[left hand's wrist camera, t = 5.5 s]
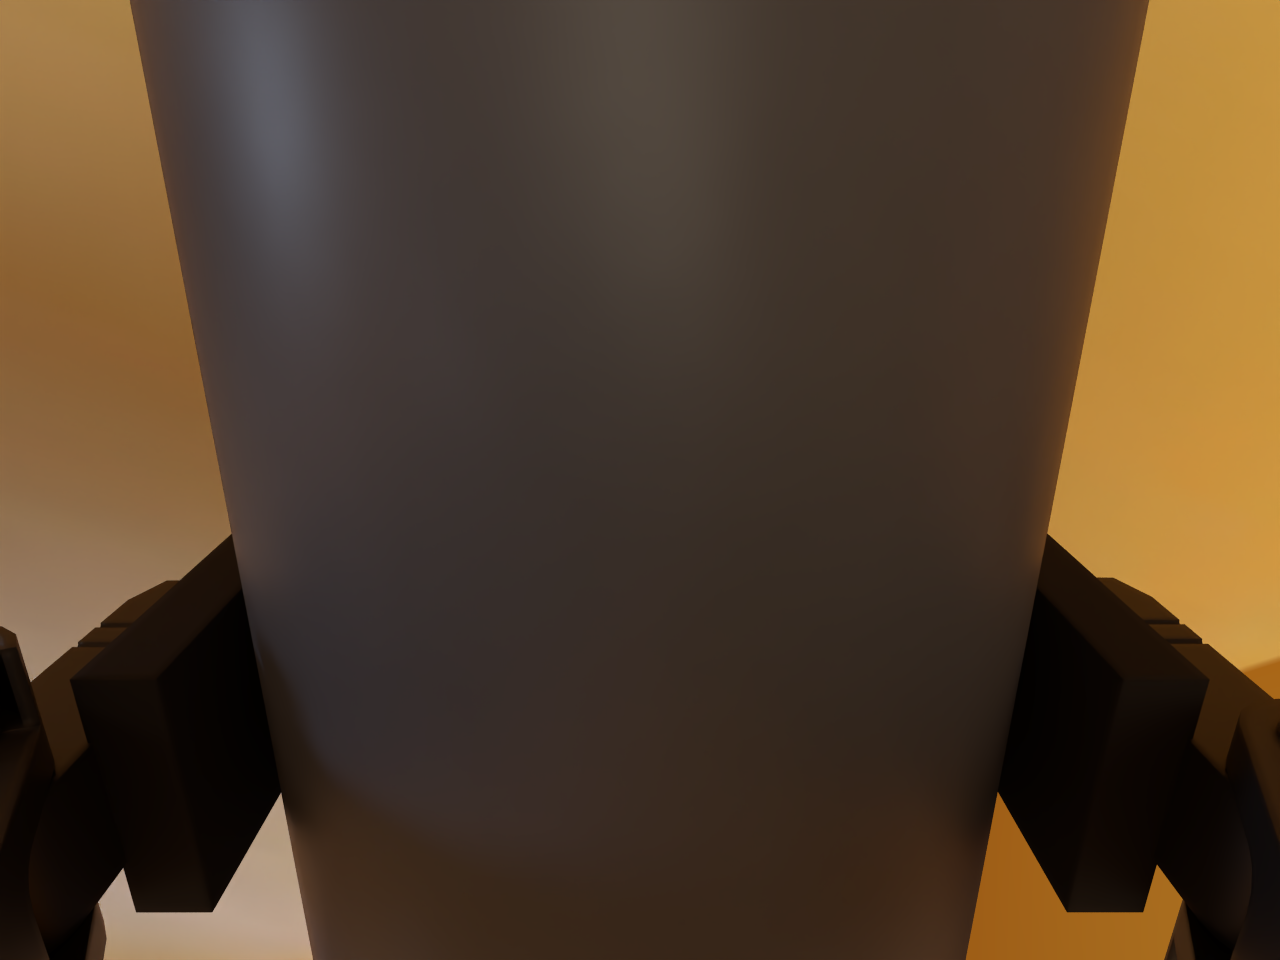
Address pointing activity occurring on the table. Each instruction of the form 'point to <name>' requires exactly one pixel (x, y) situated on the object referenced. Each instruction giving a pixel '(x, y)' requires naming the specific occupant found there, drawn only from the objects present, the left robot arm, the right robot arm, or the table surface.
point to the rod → (639, 444)
